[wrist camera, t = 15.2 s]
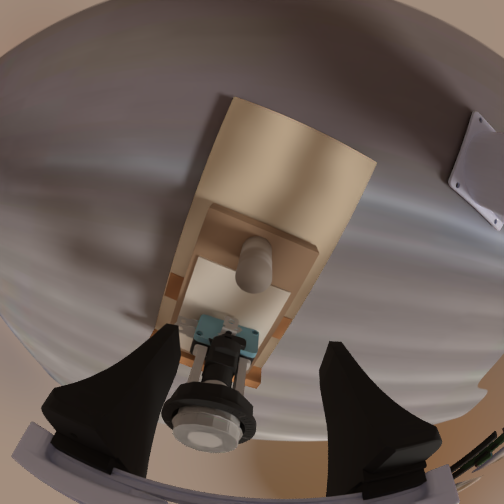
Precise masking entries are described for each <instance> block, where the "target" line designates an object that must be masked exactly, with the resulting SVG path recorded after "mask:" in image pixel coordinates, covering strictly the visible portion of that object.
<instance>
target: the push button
mask: <svg viewBox="0 0 504 504" xmlns="http://www.w3.org/2000/svg"><path fill="white" fill-rule="evenodd" d="M182 319H183V320H185V321H186V323H182V322H181V320H182ZM229 320H232V321H233V322H234V324H233V323H230V322H228V321H229ZM238 323H239V321H238V319H236V318H232V317H229V316H225V319H224V320H221V319H218V318H215V317H212V316H209V315H205V314H203V315H201V317H200V320H199V321H198V320H195V319H192V320H191V319H188V318H185V317H182V316H180V315H179V316H178V319H177V323H175V324H174V325H178V326H180V327H182V328H183V330H179V332H180V333H183V334H186V335H187V337H190V338H193V341H192V344H191V348H190V353H191V354H192V355H194V356H195V360H194V363H193V366H192V369H191V372H190V375H189V378H188V382H187V383H185V384H181V385H180V386H179V387H178V388H177V390H176V391H175V392H174V394H173V395H172V396H171V398H170V399H168V400H167V401H166V402H165V403H164V406H163V408H162V412H161V414H162V418H163V420H164V422H165V423H166V424H167V425H168V426H169V427H170V428H171V429H172V430H173V435H174V436H175V438H176V439H177V440H178V441H179V442H181V443H182V444H184V445H186V446H188V447H191V448H193V449H196V450H199V451H204V452H210V453H225V452H229V451H232V450H234V449H235V448H236V447H237V446H238V444H240V443H243V442H246V441H248V440H250V439H251V438H252V437H253V436H254V434H255V432H256V421H255V418H254V417H253V406H252V405H251V404H250V402H249V401H248V400H247V399H246V398H245V397H244V387H245V377H246V371H247V370H249V368H250V366H251V364H252V362H253V360H254V358H255V356H256V354H257V352H258V341H259V332H258V331H257V330H254V329H250V328H246V327H243V326H240V325H238ZM204 360H205V364H204V369H203V373H202V376H203V377H202V381H201V382H198V381H199V377H200V373H201V370H202V366H203V362H204ZM233 377H234V382H233V389H232V388H231V385H232V379H233Z"/></svg>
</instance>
